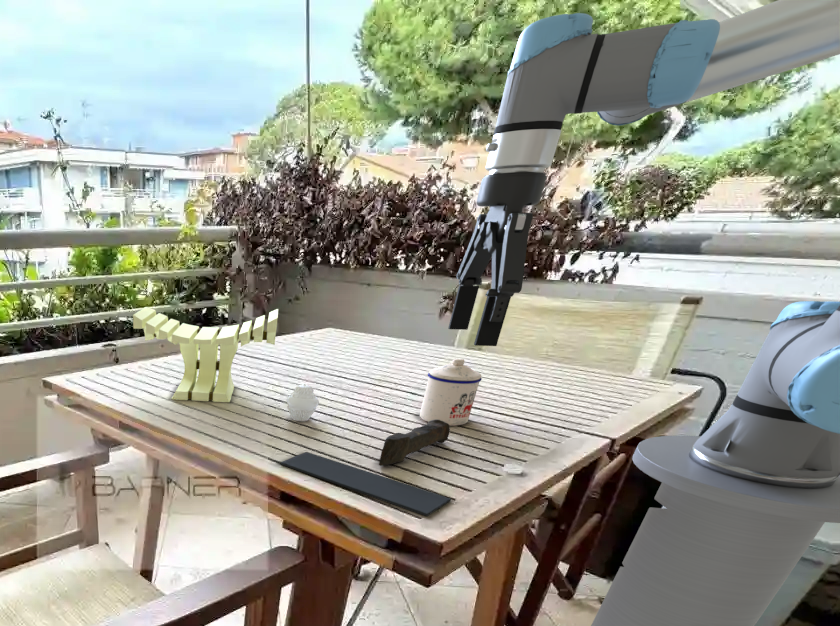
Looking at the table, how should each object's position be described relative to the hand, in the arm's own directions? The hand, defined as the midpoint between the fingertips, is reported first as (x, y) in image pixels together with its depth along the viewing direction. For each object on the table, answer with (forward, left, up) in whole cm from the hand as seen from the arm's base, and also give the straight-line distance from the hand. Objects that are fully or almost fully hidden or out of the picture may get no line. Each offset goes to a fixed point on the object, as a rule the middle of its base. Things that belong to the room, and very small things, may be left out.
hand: (470, 336), depth 84 cm
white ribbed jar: (+27, +2, -19) cm, 33 cm away
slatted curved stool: (+54, +2, -19) cm, 57 cm away
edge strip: (+3, +21, -19) cm, 28 cm away
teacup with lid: (+8, -20, -19) cm, 28 cm away
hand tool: (+3, +4, -19) cm, 20 cm away
